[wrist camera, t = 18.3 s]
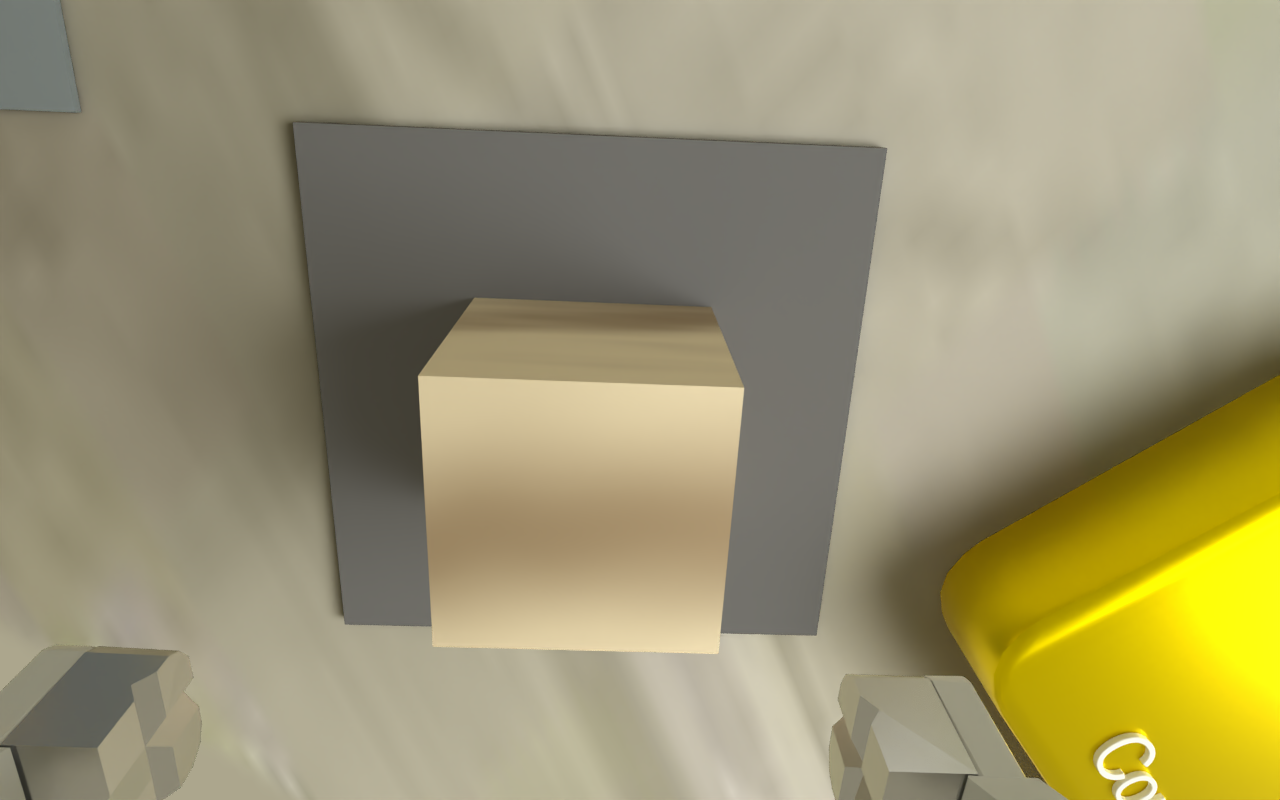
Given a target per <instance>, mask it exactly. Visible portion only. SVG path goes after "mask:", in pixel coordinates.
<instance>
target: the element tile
mask: <svg viewBox="0 0 1280 800" xmlns="http://www.w3.org/2000/svg"><path fill="white" fill-rule="evenodd" d="M940 595H941V607H942V614H943V617H944V619H945V621H946V624H947V626H948V628H949V630H950V632H951V634H952V635H953V637H954V639H955V640H956V642H957V644H958V645H959V647H960V649H961V650H962V652H963V654H964V655H965V657H966V659H967V660H968V662H969V664H970V665H971V667H972V668H973V670H974V672H975V673H976V675H977V677H978V678H979V680H980V682H981V683H982V685H983V687H984V688H985V690H986V692H987V693H988V695H989V697H990V698H991V700H992V702H993V703H994V705H995V707H996V708H997V710H998V712H999V713H1000V715H1001V716H1002V718H1003V719H1004V721H1005V722H1006V724H1007V725H1008V727H1009V728H1010V730H1011V731H1012V733H1013V734H1014V736H1015V737H1016V739H1017V740H1018V742H1019V743H1020V745H1021V746H1022V748H1023V749H1024V751H1025V752H1026V754H1027V755H1028V757H1029V758H1030V759H1031V761H1032V762H1033V764H1034V765H1035V767H1036V768H1037V770H1038V771H1039V773H1040V774H1041V776H1042V777H1043V779H1044V780H1045V782H1046V783H1047V785H1049V786H1050V787H1051V788H1053V789H1054V790H1056V791H1057V792H1058V793H1060V794H1061V795H1062V796H1064V797H1065V798H1067V799H1068V800H1280V375H1278V376H1276V377H1275V378H1273V379H1271V380H1269V381H1267V382H1266V383H1264V384H1262V385H1260V386H1258V387H1257V388H1255V389H1253V390H1251V391H1249V392H1248V393H1246V394H1244V395H1242V396H1241V397H1239V398H1237V399H1235V400H1233V401H1232V402H1230V403H1228V404H1226V405H1224V406H1223V407H1221V408H1219V409H1217V410H1215V411H1214V412H1212V413H1210V414H1208V415H1206V416H1205V417H1203V418H1201V419H1199V420H1197V421H1196V422H1194V423H1192V424H1190V425H1189V426H1187V427H1185V428H1183V429H1181V430H1180V431H1178V432H1176V433H1174V434H1172V435H1171V436H1169V437H1167V438H1165V439H1163V440H1162V441H1160V442H1158V443H1156V444H1154V445H1153V446H1151V447H1149V448H1147V449H1146V450H1144V451H1142V452H1140V453H1138V454H1137V455H1135V456H1133V457H1131V458H1129V459H1128V460H1126V461H1124V462H1122V463H1120V464H1119V465H1117V466H1115V467H1113V468H1111V469H1110V470H1108V471H1106V472H1104V473H1103V474H1101V475H1099V476H1097V477H1095V478H1094V479H1092V480H1090V481H1088V482H1086V483H1085V484H1083V485H1081V486H1079V487H1077V488H1076V489H1074V490H1072V491H1070V492H1068V493H1067V494H1065V495H1063V496H1061V497H1059V498H1058V499H1056V500H1054V501H1052V502H1051V503H1049V504H1047V505H1045V506H1043V507H1042V508H1040V509H1038V510H1036V511H1034V512H1033V513H1031V514H1029V515H1027V516H1025V517H1024V518H1022V519H1020V520H1018V521H1016V522H1015V523H1013V524H1011V525H1009V526H1008V527H1006V528H1004V529H1002V530H1000V531H999V532H997V533H995V534H993V535H991V536H990V537H988V538H986V539H984V540H982V541H981V542H979V543H978V544H977V545H975V546H974V547H973V548H971V549H970V550H969V551H967V552H966V553H965V554H964V555H963V556H962V557H961V558H960V559H959V560H958V561H957V563H956V564H955V565H954V566H953V567H952V568H951V569H950V570H949V572H948V573H947V576H946V578H945V581H944V584H943V586H942V589H941V592H940Z"/></svg>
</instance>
